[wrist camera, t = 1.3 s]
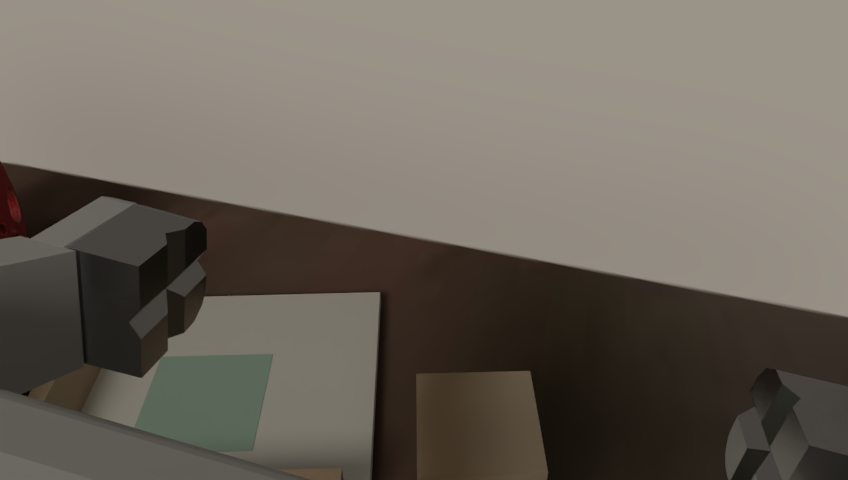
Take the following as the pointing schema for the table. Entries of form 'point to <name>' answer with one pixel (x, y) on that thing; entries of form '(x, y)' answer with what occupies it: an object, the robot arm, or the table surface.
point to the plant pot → (10, 209)
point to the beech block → (478, 427)
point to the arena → (255, 384)
